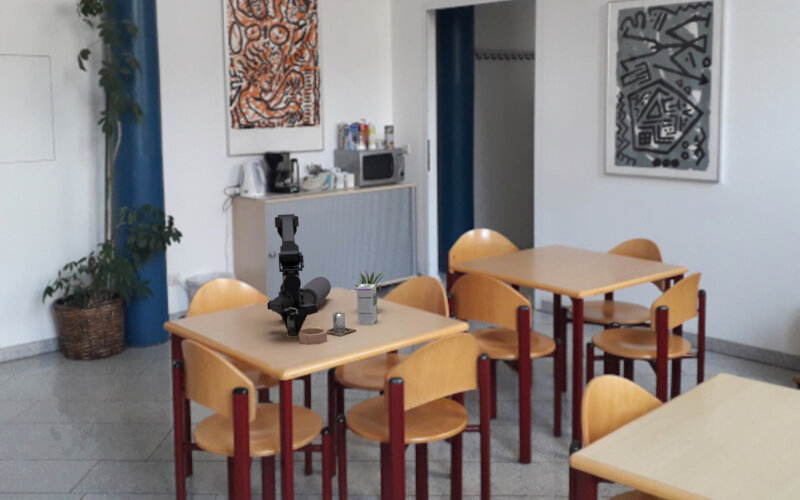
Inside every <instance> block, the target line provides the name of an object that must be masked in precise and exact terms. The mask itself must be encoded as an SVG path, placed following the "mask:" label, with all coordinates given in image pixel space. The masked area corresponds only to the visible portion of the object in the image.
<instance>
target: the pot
mask: <svg viewBox="0 0 800 500" xmlns="http://www.w3.org/2000/svg"><path fill="white" fill-rule="evenodd" d="M326 330H327V328H323V329H322V328H310V327H307V328H304V329H301V330H300V331H299V336H298V338H299V340H298V343H300V344H305V345H318V344H322V343H326V342H328V334H327V331H326Z"/></svg>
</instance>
